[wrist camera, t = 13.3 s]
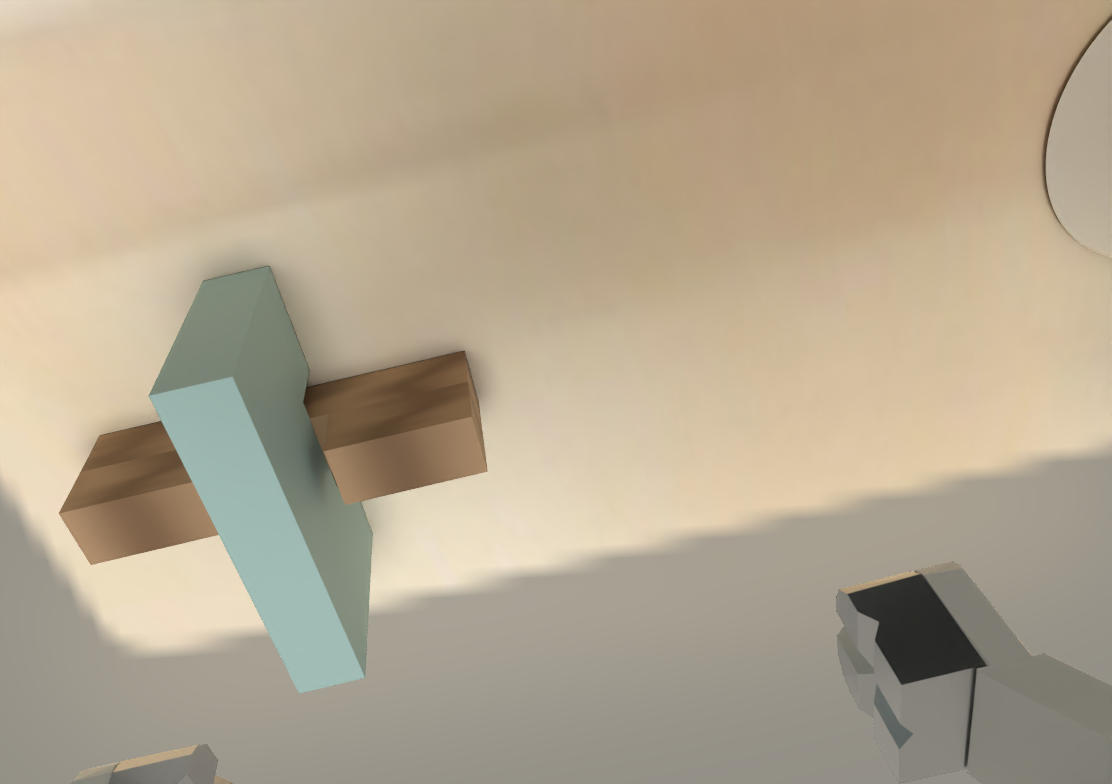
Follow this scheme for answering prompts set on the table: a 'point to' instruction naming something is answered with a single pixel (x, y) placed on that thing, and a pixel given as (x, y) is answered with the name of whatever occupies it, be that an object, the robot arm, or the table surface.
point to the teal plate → (269, 475)
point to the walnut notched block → (343, 433)
